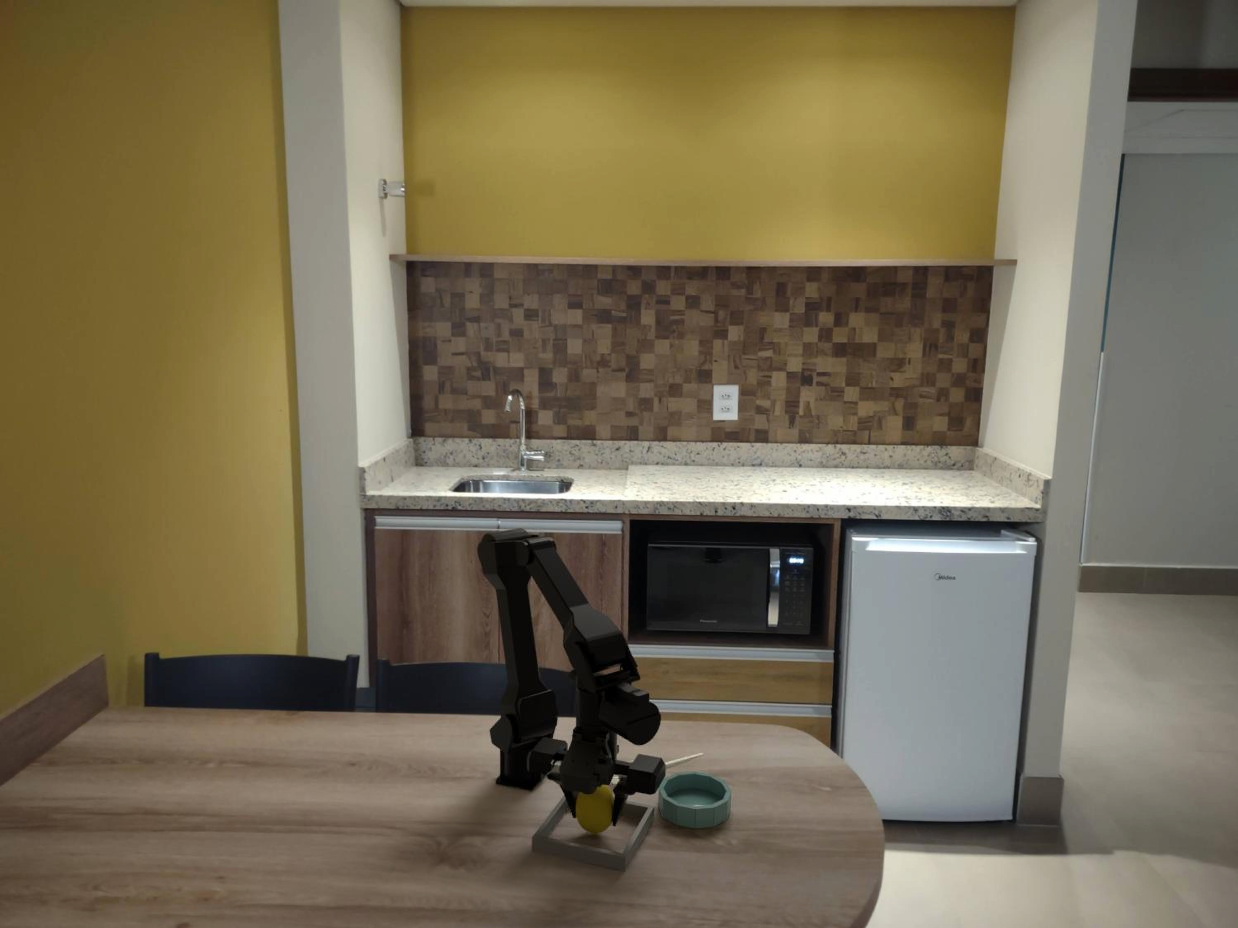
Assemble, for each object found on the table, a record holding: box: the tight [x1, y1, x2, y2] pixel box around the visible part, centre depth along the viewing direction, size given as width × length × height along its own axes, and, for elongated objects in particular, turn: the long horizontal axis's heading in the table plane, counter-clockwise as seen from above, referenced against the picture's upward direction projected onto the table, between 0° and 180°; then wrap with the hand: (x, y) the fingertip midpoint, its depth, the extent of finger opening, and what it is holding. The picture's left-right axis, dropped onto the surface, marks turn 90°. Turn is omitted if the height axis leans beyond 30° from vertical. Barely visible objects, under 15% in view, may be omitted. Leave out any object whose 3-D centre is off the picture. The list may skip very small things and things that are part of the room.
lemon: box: [576, 785, 614, 836], centre depth 129 cm, size 6×6×8 cm
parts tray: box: [531, 794, 655, 872], centre depth 130 cm, size 13×13×2 cm
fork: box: [610, 752, 705, 786], centre depth 148 cm, size 3×20×2 cm, turn 125°
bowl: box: [657, 771, 732, 829], centre depth 137 cm, size 10×10×3 cm
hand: (595, 820), depth 130 cm, fingers closed on lemon, 5 cm apart
